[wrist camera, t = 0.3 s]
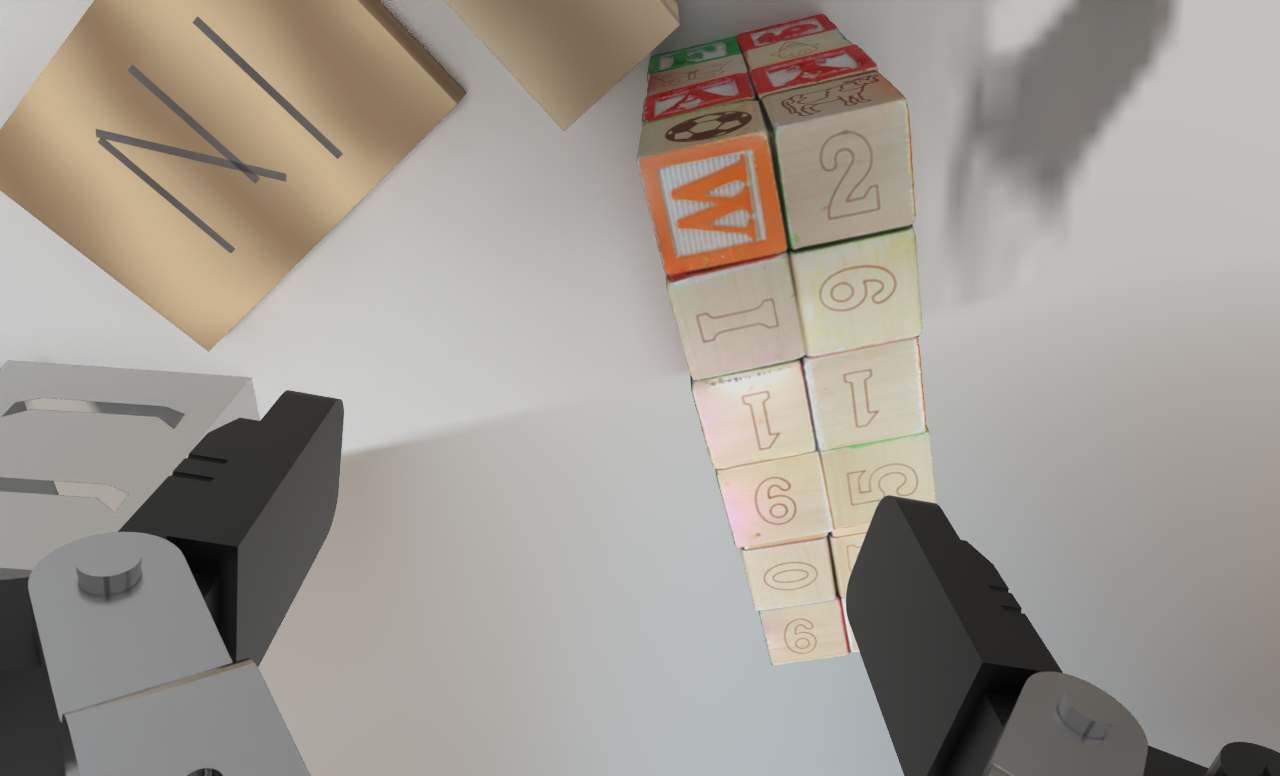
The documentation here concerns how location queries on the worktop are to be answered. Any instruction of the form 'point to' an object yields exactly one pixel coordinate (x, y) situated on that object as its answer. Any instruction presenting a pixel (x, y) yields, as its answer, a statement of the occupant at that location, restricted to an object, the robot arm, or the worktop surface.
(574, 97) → the block
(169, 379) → the grater
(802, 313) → the stack of blocks
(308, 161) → the board
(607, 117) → the worktop surface
